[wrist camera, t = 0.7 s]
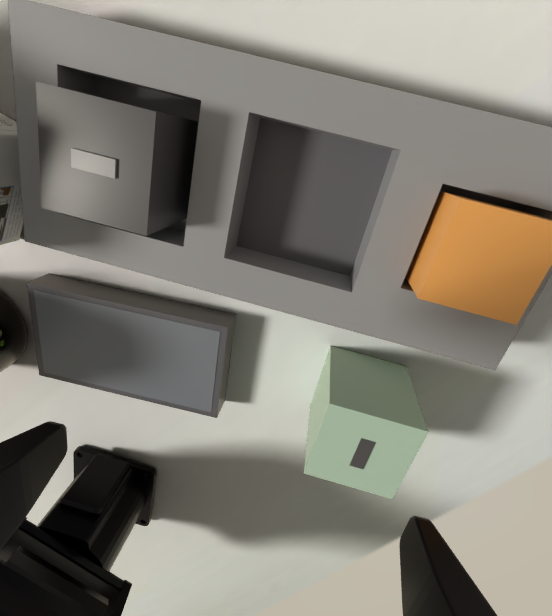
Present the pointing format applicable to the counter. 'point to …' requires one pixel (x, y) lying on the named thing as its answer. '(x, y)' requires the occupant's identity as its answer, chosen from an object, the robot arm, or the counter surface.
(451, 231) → the power button
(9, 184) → the light bulb box
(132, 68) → the power strip
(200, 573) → the counter surface
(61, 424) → the robot arm
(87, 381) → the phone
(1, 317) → the supplement bottle
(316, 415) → the cube
